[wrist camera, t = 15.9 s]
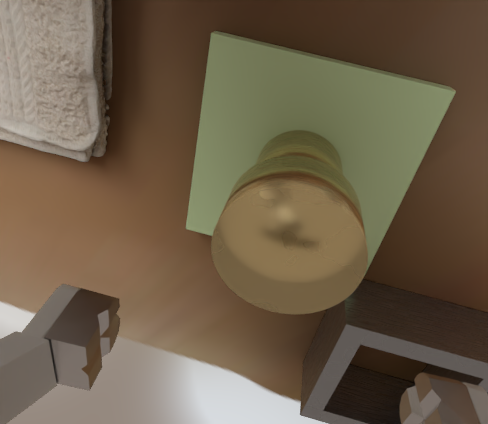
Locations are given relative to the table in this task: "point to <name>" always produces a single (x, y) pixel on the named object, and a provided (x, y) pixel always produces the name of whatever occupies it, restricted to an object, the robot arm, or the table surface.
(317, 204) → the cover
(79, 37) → the washcloth
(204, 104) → the pad
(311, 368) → the box
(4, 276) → the table surface
